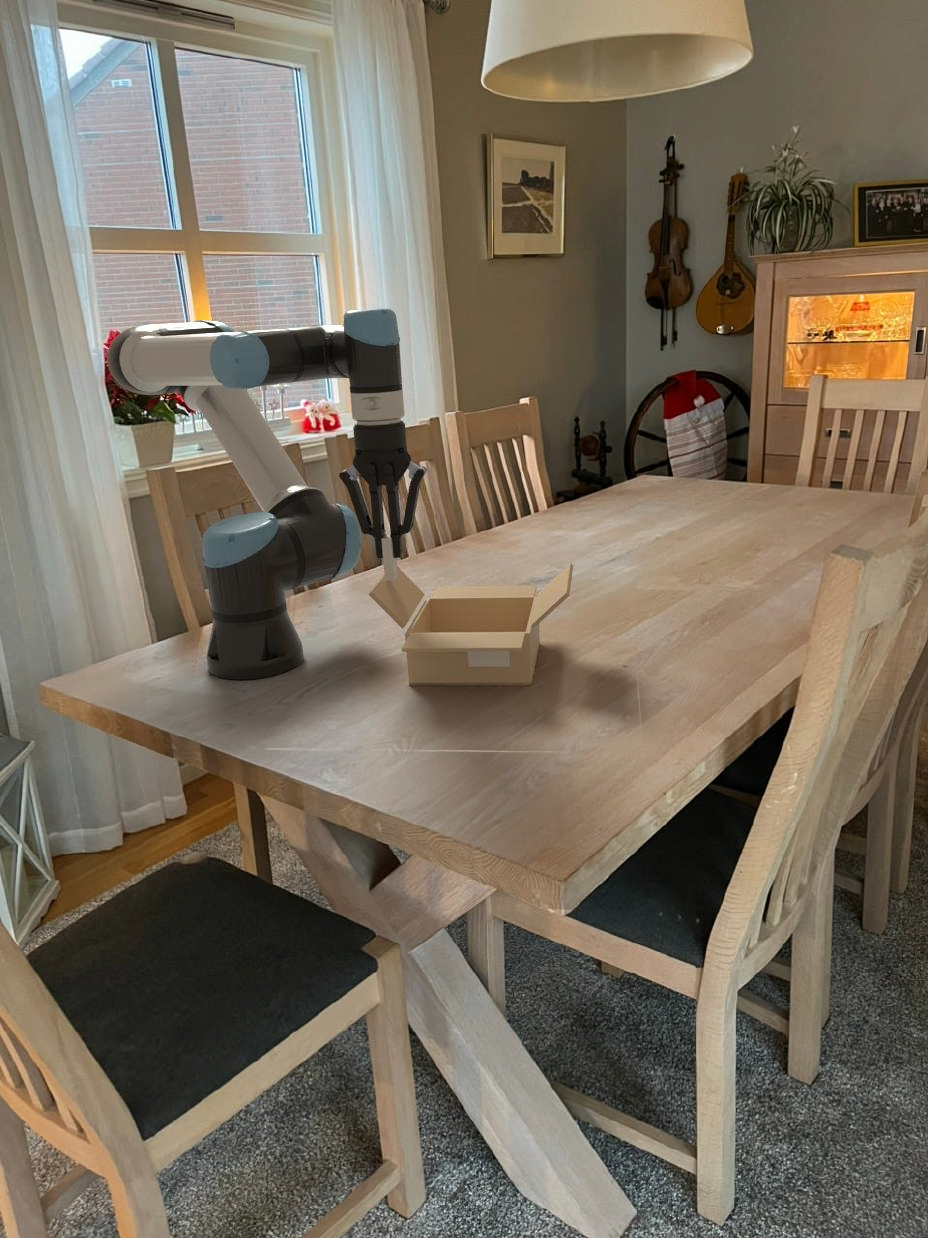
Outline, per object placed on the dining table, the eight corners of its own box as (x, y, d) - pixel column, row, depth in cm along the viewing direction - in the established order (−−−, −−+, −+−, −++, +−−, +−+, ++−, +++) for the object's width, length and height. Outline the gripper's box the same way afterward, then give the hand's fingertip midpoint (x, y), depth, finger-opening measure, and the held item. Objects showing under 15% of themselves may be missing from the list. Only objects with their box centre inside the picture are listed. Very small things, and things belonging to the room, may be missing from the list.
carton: (400, 701, 137) (396, 648, 134) (436, 632, 165) (433, 587, 162) (528, 702, 134) (526, 647, 132) (542, 631, 162) (540, 585, 160)
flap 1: (402, 628, 141) (368, 594, 140) (422, 596, 156) (391, 565, 155) (405, 626, 141) (371, 591, 140) (424, 594, 156) (394, 562, 155)
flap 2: (531, 625, 138) (566, 592, 136) (538, 592, 153) (570, 562, 151) (534, 628, 138) (569, 595, 136) (541, 595, 153) (573, 565, 151)
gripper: (328, 426, 137) (343, 586, 145) (418, 422, 135) (429, 584, 143) (341, 419, 144) (355, 572, 152) (427, 416, 142) (437, 570, 150)
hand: (391, 578), depth 147 cm, fingers closed
